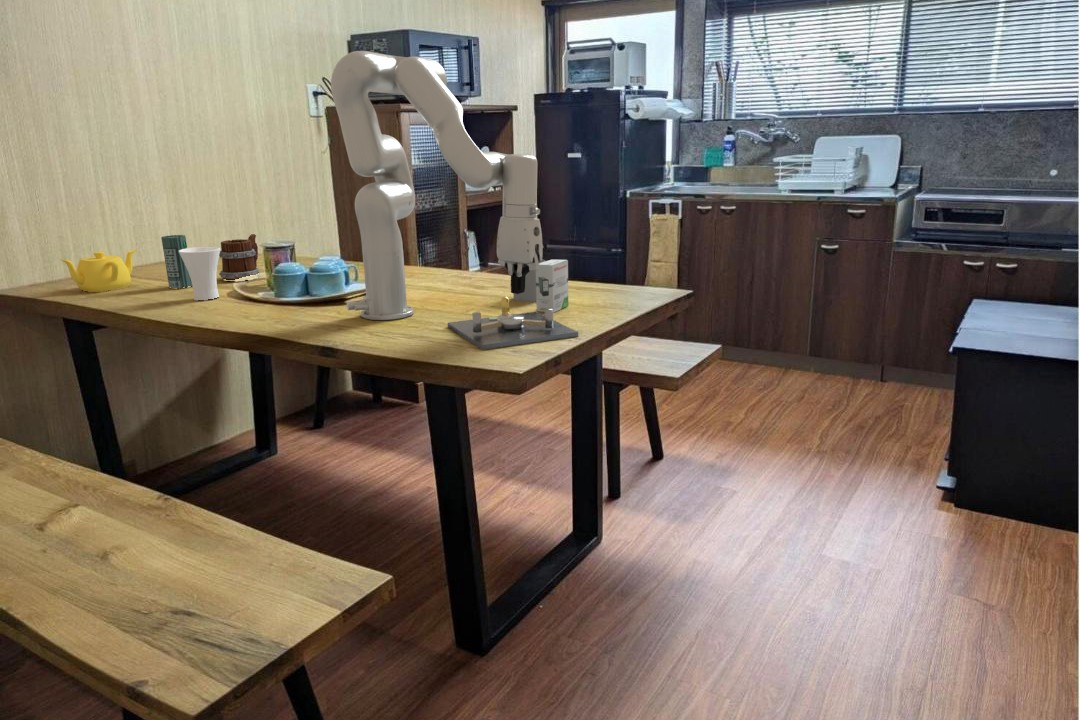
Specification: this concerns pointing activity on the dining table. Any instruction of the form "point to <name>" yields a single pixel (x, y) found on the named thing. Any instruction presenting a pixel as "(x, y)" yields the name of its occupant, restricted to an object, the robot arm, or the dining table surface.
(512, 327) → the capstan
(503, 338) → the stand plate
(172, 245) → the teal patterned carton
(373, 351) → the dining table surface
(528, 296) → the cup
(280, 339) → the dining table surface
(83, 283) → the teapot
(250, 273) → the mug
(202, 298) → the cup
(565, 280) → the ink box
